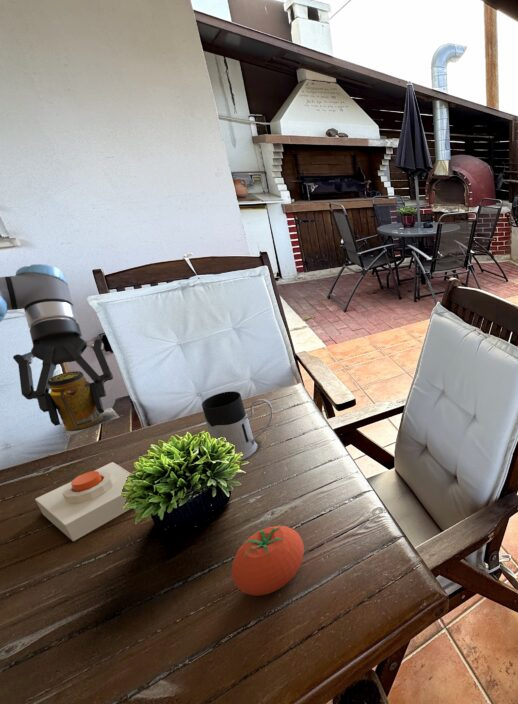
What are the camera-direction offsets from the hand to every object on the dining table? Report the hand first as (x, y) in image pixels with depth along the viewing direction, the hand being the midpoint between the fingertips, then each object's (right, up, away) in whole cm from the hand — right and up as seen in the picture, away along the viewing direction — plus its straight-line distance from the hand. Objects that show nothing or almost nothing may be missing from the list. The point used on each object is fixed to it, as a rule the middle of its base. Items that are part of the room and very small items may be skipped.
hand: (78, 416), depth 86 cm
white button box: (+8, -18, -3) cm, 20 cm away
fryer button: (+8, -12, -5) cm, 16 cm away
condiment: (-2, -2, +4) cm, 5 cm away
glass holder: (+28, -12, +13) cm, 33 cm away
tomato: (+53, -23, -18) cm, 61 cm away
